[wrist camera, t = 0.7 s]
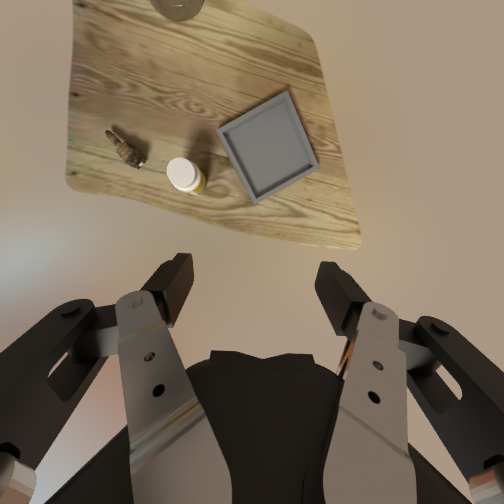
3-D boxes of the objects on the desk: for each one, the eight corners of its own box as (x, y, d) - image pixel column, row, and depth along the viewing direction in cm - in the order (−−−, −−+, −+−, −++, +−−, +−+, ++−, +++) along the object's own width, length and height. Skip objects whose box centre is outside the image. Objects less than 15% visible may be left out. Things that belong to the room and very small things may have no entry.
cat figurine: (144, 178, 33) (128, 168, 29) (113, 146, 33) (93, 132, 29) (155, 166, 33) (140, 156, 29) (124, 134, 33) (105, 119, 29)
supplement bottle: (203, 167, 34) (193, 151, 26) (209, 193, 35) (201, 186, 27) (177, 171, 34) (159, 157, 25) (184, 197, 35) (168, 191, 26)
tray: (216, 135, 33) (215, 130, 31) (284, 97, 33) (287, 89, 31) (253, 205, 36) (254, 204, 34) (315, 170, 36) (319, 168, 34)
